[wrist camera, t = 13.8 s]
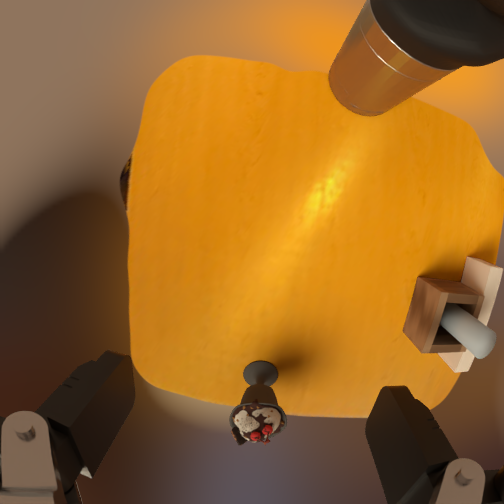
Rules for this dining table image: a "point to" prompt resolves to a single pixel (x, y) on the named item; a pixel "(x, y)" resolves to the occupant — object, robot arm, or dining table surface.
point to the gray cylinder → (468, 330)
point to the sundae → (258, 406)
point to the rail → (486, 283)
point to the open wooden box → (438, 313)
